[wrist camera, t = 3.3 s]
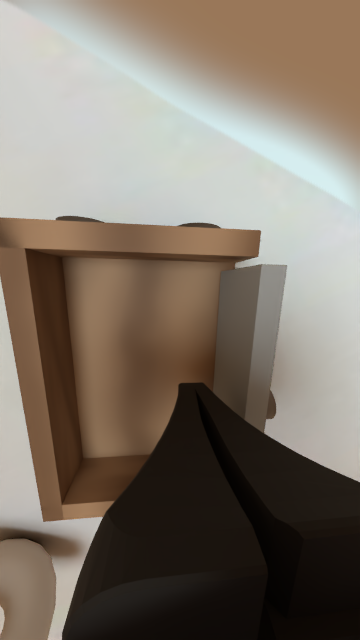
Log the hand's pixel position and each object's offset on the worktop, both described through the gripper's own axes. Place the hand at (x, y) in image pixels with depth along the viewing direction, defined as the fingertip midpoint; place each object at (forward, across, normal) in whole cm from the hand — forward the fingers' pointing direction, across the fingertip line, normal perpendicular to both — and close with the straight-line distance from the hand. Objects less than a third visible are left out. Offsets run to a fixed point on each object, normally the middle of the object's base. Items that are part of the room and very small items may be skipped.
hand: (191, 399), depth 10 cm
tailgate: (+4, -3, 0) cm, 5 cm away
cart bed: (+6, +3, 0) cm, 6 cm away
